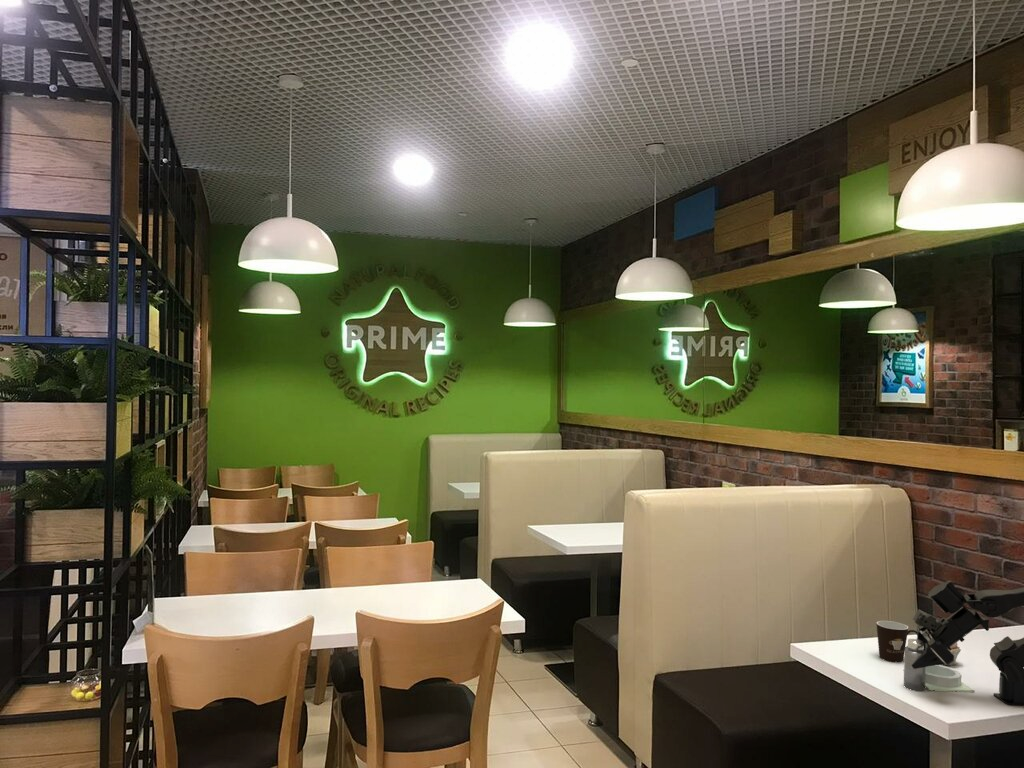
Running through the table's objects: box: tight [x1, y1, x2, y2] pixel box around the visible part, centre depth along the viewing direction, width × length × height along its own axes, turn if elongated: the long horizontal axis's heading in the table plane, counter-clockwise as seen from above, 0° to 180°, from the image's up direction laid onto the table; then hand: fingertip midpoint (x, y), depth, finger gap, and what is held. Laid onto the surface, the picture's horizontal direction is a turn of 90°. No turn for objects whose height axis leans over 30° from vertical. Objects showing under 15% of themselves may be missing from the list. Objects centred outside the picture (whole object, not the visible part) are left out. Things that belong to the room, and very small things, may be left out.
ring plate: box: [903, 665, 975, 693], centre depth 214 cm, size 14×12×3 cm
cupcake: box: [942, 642, 962, 667], centre depth 230 cm, size 9×9×10 cm
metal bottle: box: [903, 638, 926, 692], centre depth 209 cm, size 5×5×12 cm
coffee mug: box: [876, 620, 917, 663], centre depth 231 cm, size 12×9×10 cm
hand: (909, 661), depth 209 cm, fingers open, 9 cm apart
